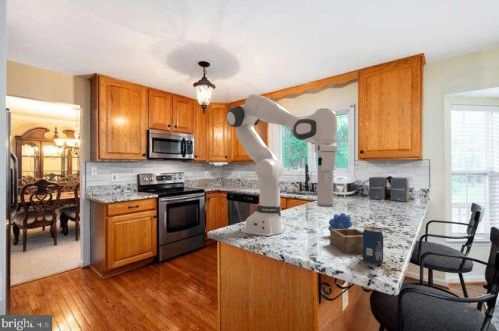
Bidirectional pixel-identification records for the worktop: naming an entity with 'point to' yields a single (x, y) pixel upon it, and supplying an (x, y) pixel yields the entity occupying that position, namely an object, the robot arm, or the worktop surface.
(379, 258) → the soda can
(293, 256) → the worktop surface
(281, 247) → the worktop surface
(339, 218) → the grapes
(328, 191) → the travel mug
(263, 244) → the worktop surface
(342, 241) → the wooden cubby frame
